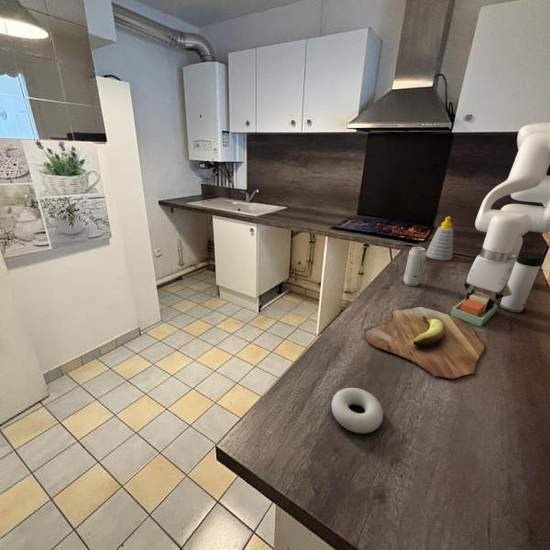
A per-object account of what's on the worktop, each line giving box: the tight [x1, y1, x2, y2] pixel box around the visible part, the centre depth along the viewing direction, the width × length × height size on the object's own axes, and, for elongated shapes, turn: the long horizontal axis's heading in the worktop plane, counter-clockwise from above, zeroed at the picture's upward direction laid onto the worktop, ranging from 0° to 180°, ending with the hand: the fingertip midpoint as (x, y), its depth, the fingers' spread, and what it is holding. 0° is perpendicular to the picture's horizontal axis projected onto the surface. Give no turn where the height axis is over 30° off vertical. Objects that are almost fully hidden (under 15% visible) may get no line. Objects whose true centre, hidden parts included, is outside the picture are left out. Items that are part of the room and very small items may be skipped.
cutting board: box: [365, 306, 485, 380], centre depth 84 cm, size 35×27×4 cm
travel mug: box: [499, 252, 546, 313], centre depth 97 cm, size 6×7×20 cm
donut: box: [330, 387, 384, 434], centre depth 58 cm, size 10×4×10 cm
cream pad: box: [469, 291, 491, 312], centre depth 97 cm, size 6×5×4 cm
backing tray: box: [450, 297, 498, 327], centre depth 96 cm, size 14×9×3 cm, turn 130°
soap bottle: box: [425, 215, 454, 262], centre depth 147 cm, size 12×12×20 cm
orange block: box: [460, 299, 485, 317], centre depth 94 cm, size 6×5×4 cm
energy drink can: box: [403, 246, 427, 287], centre depth 116 cm, size 6×6×15 cm
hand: (478, 305), depth 98 cm, fingers closed on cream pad, 4 cm apart
